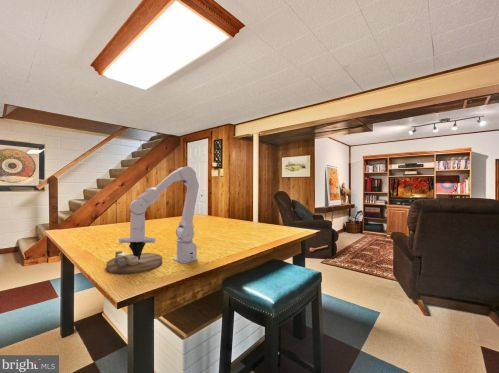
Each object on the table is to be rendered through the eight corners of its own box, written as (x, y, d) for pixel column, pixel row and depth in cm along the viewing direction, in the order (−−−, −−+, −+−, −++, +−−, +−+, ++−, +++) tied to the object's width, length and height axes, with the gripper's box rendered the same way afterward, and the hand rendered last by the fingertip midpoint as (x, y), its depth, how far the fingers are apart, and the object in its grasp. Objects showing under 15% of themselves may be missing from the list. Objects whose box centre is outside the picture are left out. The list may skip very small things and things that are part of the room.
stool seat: (171, 264, 105) (171, 252, 105) (118, 278, 88) (119, 265, 88) (147, 254, 119) (147, 244, 119) (98, 265, 102) (98, 253, 102)
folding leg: (114, 260, 102) (114, 252, 102) (120, 258, 105) (120, 250, 105) (132, 265, 95) (132, 257, 95) (138, 264, 98) (138, 255, 98)
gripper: (158, 226, 105) (157, 256, 105) (124, 226, 104) (124, 256, 104) (152, 229, 98) (152, 261, 98) (116, 229, 97) (116, 262, 97)
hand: (137, 259), depth 101 cm, fingers closed
